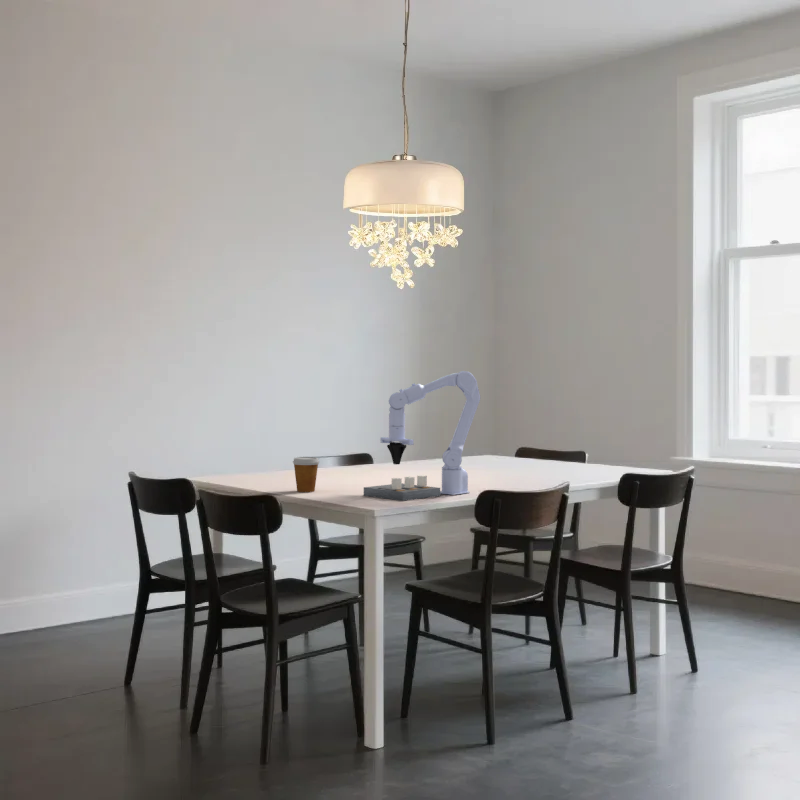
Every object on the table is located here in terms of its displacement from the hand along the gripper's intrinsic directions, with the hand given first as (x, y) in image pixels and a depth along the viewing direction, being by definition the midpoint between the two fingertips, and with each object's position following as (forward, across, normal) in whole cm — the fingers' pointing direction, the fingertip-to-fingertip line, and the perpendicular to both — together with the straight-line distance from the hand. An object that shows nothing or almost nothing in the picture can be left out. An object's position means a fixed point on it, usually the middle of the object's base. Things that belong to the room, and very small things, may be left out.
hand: (396, 464), depth 371 cm
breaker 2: (+7, +10, +2) cm, 12 cm away
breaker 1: (+7, +10, -11) cm, 16 cm away
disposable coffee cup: (+11, -26, -20) cm, 34 cm away
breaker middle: (+7, +10, -4) cm, 13 cm away
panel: (+10, +6, -4) cm, 13 cm away
